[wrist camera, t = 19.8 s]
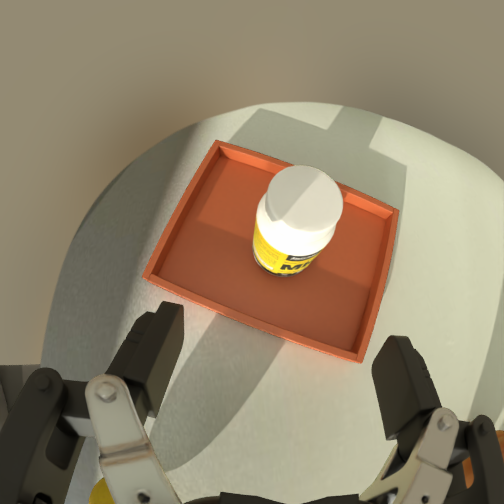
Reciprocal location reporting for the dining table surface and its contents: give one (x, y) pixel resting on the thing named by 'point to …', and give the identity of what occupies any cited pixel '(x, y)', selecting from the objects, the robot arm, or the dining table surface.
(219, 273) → the tray
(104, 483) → the lemon
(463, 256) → the dining table surface
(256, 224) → the supplement bottle
